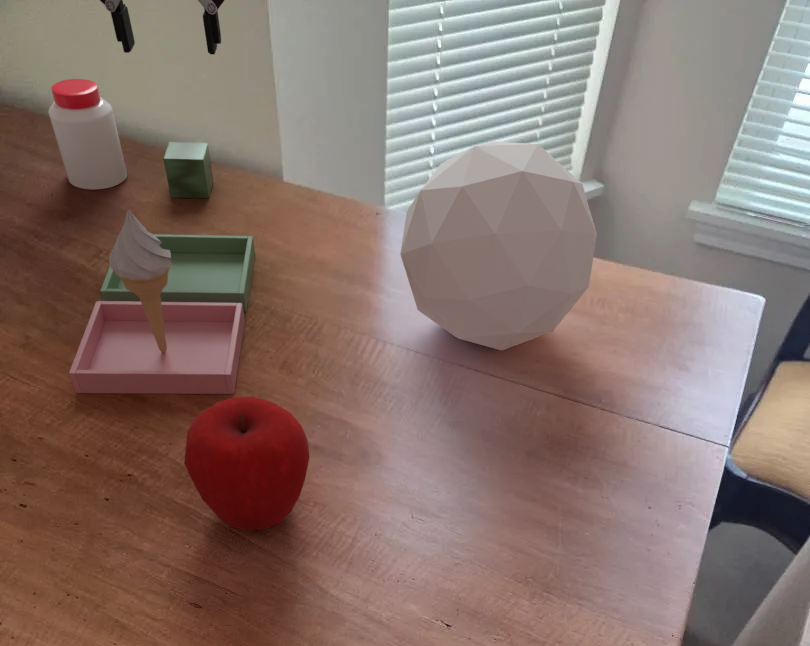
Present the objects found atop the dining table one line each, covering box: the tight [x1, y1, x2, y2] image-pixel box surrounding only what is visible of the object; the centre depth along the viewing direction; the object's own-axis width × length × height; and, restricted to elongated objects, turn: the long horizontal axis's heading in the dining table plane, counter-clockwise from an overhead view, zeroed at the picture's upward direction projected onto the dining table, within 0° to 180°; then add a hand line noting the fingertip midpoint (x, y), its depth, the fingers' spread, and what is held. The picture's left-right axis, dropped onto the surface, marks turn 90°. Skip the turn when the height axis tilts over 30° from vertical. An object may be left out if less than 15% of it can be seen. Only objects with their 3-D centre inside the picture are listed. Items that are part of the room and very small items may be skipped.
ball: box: [399, 140, 598, 351], centre depth 76 cm, size 19×20×20 cm
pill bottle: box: [48, 78, 128, 191], centre depth 97 cm, size 8×8×11 cm
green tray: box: [100, 233, 256, 313], centre depth 85 cm, size 15×12×2 cm
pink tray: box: [68, 300, 246, 395], centre depth 76 cm, size 15×12×2 cm
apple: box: [183, 395, 310, 531], centre depth 60 cm, size 10×10×11 cm
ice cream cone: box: [108, 208, 171, 353], centre depth 71 cm, size 6×6×15 cm
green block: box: [163, 141, 214, 199], centre depth 99 cm, size 5×5×5 cm
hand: (171, 49), depth 88 cm, fingers open, 9 cm apart
